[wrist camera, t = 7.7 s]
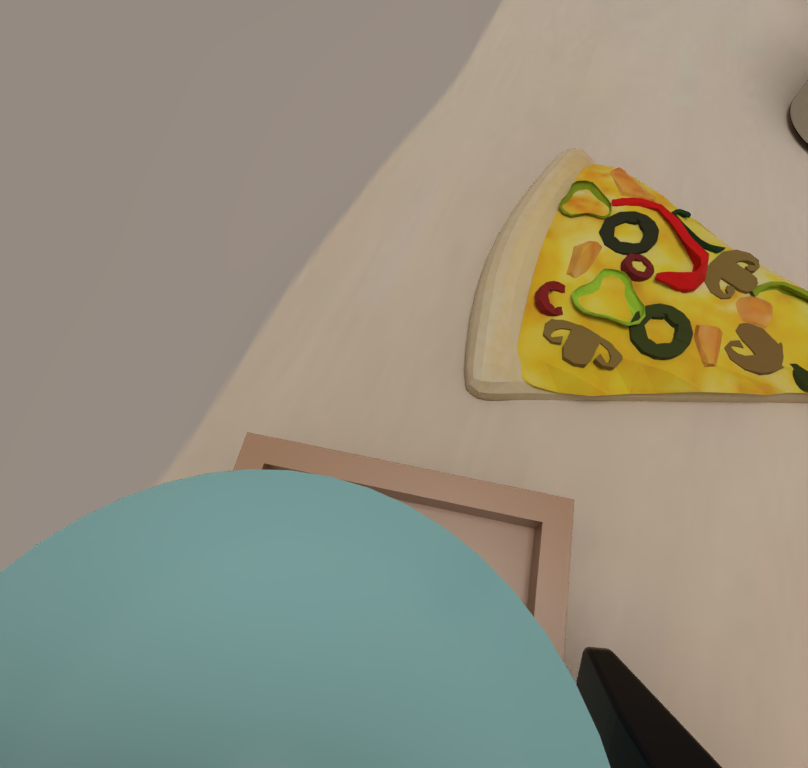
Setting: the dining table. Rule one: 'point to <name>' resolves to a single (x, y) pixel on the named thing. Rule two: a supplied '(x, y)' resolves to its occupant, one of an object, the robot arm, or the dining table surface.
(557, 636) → the tray
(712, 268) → the pizza slice
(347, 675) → the teal rounded cylinder
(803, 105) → the travel mug
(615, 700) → the robot arm
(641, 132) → the dining table surface
